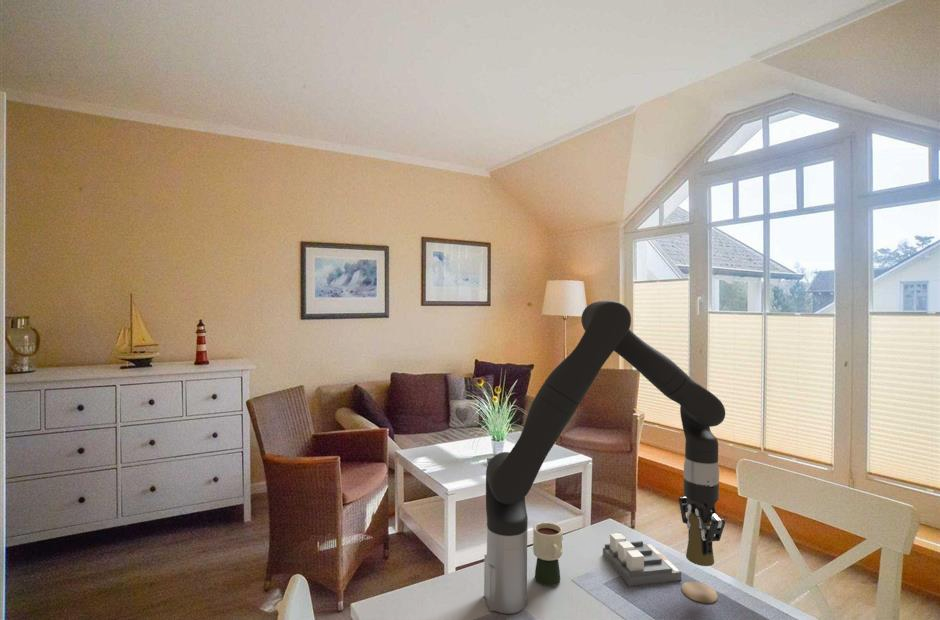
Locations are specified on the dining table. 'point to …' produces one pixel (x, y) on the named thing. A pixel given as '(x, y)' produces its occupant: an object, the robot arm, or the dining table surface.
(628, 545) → the tab middle
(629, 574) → the switch panel
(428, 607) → the dining table surface
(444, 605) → the dining table surface
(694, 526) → the pepper shaker
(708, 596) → the cork coaster
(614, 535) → the tab back
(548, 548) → the character mug
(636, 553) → the tab front
